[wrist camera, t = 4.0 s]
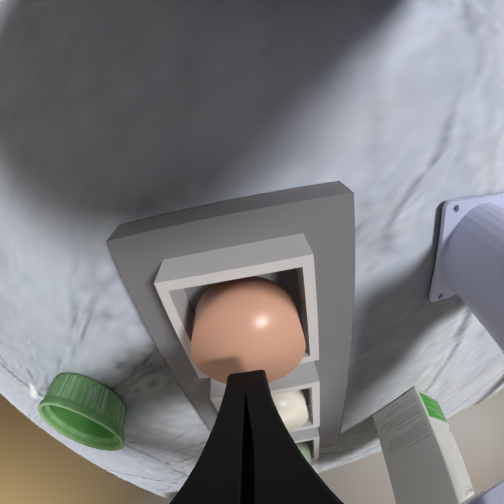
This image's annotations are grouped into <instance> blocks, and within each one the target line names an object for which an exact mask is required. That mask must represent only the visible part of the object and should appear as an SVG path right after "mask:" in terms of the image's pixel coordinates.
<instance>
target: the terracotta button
mask: <svg viewBox="0 0 504 504" xmlns="http://www.w3.org/2000/svg"><path fill="white" fill-rule="evenodd" d="M305 349H306V343H305V338H304V334H303V330H302V327H301V323H300V320H299V316H298V312H297V309H296V305H295V302H294V300H293V298H292V296H291V295H290V293H289V292H288V291H287V290H286V289H285V288H284V287H282V286H281V285H279V284H278V283H276V282H274V281H272V280H269V279H266V278H262V277H258V276H251V277H245V278H240V279H234V280H229V281H223V282H219V283H217V284H215V285H213V286H212V287H210V288H209V289H208V290H207V291H206V292H205V293H204V294H203V295H202V296H201V298H200V300H199V301H198V304H197V307H196V311H195V318H194V326H193V333H192V340H191V357H192V359H193V362H194V363H195V365H196V366H197V367H198V369H199V370H200V371H201V372H203V373H204V374H205V375H207V376H208V377H210V378H212V379H214V380H216V381H218V382H221V383H225V384H226V383H227V378H228V376H229V375H230V374H234V373H242V372H248V371H255V370H261V369H262V370H264V371H265V373H266V377H267V380H268V383H270V382H273V381H275V380H278V379H280V378H282V377H284V376H286V375H287V374H289V373H290V372H291V371H293V370H294V369H295V368H296V367H297V366H298V364H299V363H300V362H301V360H302V358H303V356H304V354H305Z"/></svg>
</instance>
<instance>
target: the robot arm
mask: <svg viewBox="0 0 504 504" xmlns="http://www.w3.org/2000/svg"><path fill="white" fill-rule="evenodd" d="M454 207H455V209H454ZM455 295H458V296H459V297H460V299H461V300H462V301H463V302H464V303H465V304H466V306H467V307H468V308H469V309H470V310H471V312H472V313H473V314H474V315H475V316H476V318H477V319H478V320H479V321H480V322H481V324H482V325H483V326H484V327H485V329H486V330H487V331H488V333H489V334H490V335H491V336H492V338H493V339H494V340H495V342H496V343H497V344H498V346H499V347H500V348H501V350H502V351H503V353H504V192H502V193H495V194H488V195H481V196H474V197H467V198H461V199H454V200H448V201H446V202H445V203H444V205H443V208H442V218H441V227H440V235H439V243H438V250H437V256H436V262H435V268H434V273H433V279H432V284H431V289H430V293H429V300H430V301H431V302H432V303H434V302H437V301H440V300H443V299H446V298H449V297H452V296H455ZM170 504H344V503H343V502H341V500H339V499H338V497H337V496H336V495H335V494H334V493H333V492H332V491H331V490H330V489H329V488H328V487H327V485H326V484H325V483H324V482H323V481H322V479H321V478H320V477H319V476H318V474H317V473H316V472H315V471H314V469H313V468H312V467H311V465H310V464H309V463H308V461H307V460H306V459H305V457H304V456H303V454H302V453H301V451H300V450H299V448H298V447H297V445H296V444H295V442H294V440H293V439H292V437H291V435H290V434H289V432H288V430H287V428H286V427H285V425H284V423H283V421H282V419H281V417H280V415H279V413H278V410H277V408H276V406H275V404H274V401H273V399H272V396H271V392H270V388H269V384H268V380H267V377H266V373H265V371H264V370H262V369H261V370H255V371H248V372H242V373H234V374H230V375H229V376H228V378H227V383H226V388H225V392H224V396H223V399H222V403H221V406H220V409H219V412H218V415H217V418H216V421H215V424H214V426H213V429H212V431H211V434H210V436H209V438H208V441H207V443H206V445H205V447H204V450H203V452H202V454H201V456H200V458H199V460H198V461H197V463H196V465H195V467H194V469H193V470H192V472H191V474H190V475H189V477H188V479H187V480H186V482H185V483H184V485H183V486H182V488H181V489H180V490H179V492H178V493H177V494H176V496H175V497H174V498H173V500H172V501H171V503H170ZM463 504H504V480H502V481H501V482H499V483H497V484H496V485H494V486H493V487H491V488H490V489H488V490H486V491H483V492H482V493H480V494H478V495H476V496H475V497H473V498H472V499H470V500H468V501H466V502H465V503H463Z"/></svg>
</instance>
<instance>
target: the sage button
mask: <svg viewBox="0 0 504 504" xmlns="http://www.w3.org/2000/svg"><path fill="white" fill-rule="evenodd" d="M295 444H296V445H297V447H298V448H299V450H300V451H301V453H302V454H303V456H304V457H305V459H306V460H307V461H308V463H309V464H310V465H311V467H312V460H311V455H310V450H309V444H308V442H307V441H304V442H299V443H295Z"/></svg>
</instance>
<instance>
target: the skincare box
mask: <svg viewBox="0 0 504 504" xmlns="http://www.w3.org/2000/svg"><path fill="white" fill-rule="evenodd" d="M372 418H373V421H374V424H375V427H376V430H377V434H378V437H379V440H380V444H381V447H382V451H383V454H384V458H385V461H386V465H387V469H388V472H389V476H390V480H391V484H392V488H393V492H394V496H395V500H396V504H459V503H461V502H463V501H464V500H466V499H467V498H469V497H470V496H472V495H473V494H474V490H473V487H472V484H471V482H470V479H469V476H468V473H467V470H466V468H465V465H464V462H463V459H462V457H461V454H460V452H459V449H458V447H457V444H456V442H455V439H454V437H453V434H452V432H451V430H450V427H449V425H448V423H447V420H446V418H445V416H444V414H443V411H442V409H441V407H440V405H439V403H438V400H437V399H436V398H434V397H432V396H431V395H429V394H427V393H425V392H424V391H422V390H420V389H418V388H417V387H413V388H411V389H410V390H409V391H407V392H406V393H404V394H403V395H402V396H400V397H399V398H397V399H396V400H394V401H393V402H392V403H390V404H389V405H387V406H385V407H384V408H382V409H381V410H379V411H378V412H376V413H375V414H373V415H372Z"/></svg>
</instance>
